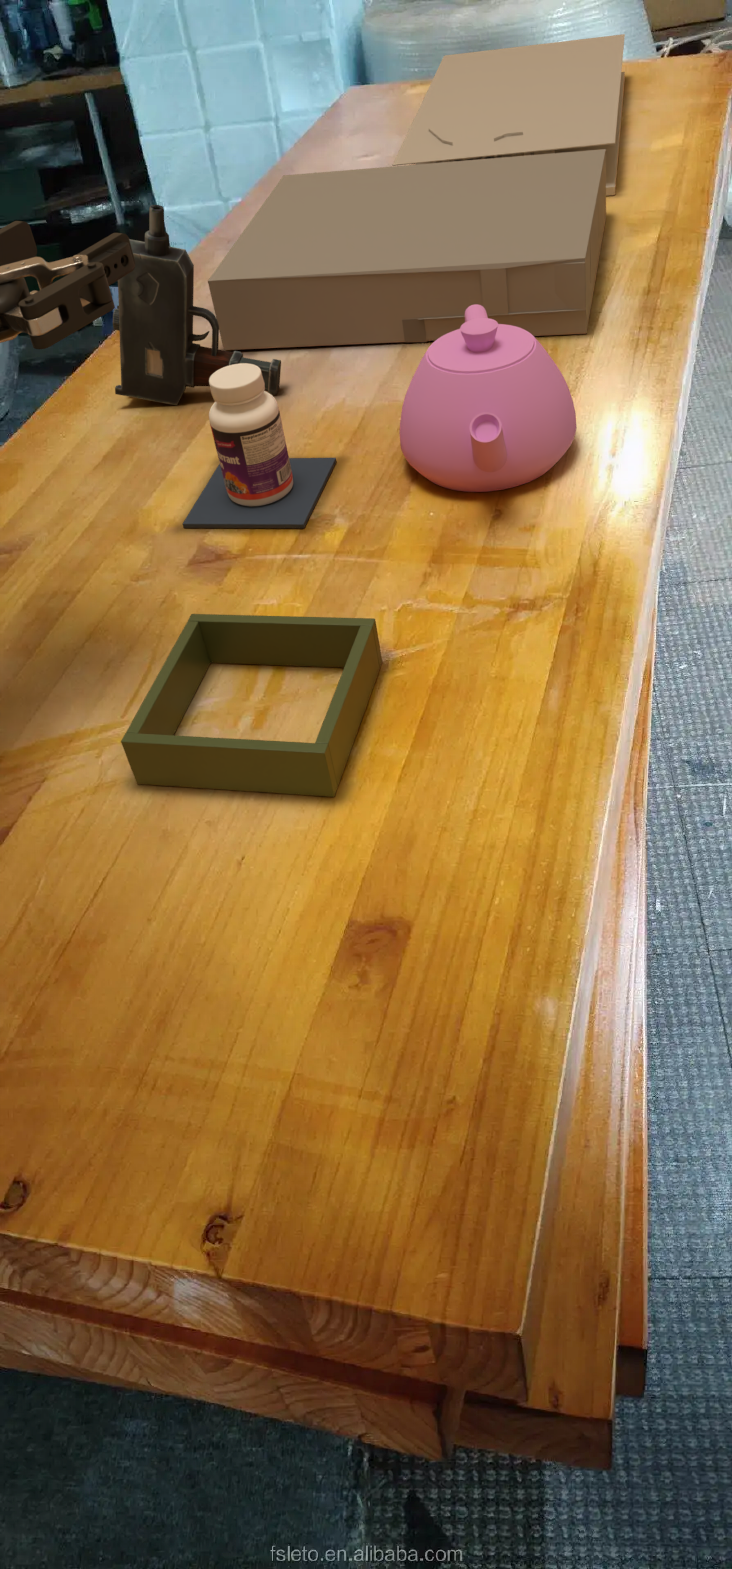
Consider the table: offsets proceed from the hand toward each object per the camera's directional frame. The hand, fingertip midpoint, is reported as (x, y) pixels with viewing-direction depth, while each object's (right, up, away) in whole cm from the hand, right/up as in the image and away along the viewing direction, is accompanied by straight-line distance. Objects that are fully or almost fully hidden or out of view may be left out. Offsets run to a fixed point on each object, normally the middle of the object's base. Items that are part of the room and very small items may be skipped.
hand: (77, 242), depth 74 cm
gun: (+3, +2, +37) cm, 37 cm away
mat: (+9, -10, +22) cm, 26 cm away
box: (+24, +18, +49) cm, 57 cm away
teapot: (+28, -8, +21) cm, 36 cm away
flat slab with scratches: (+37, +48, +77) cm, 98 cm away
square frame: (+11, -29, +2) cm, 32 cm away
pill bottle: (+9, -10, +22) cm, 26 cm away
